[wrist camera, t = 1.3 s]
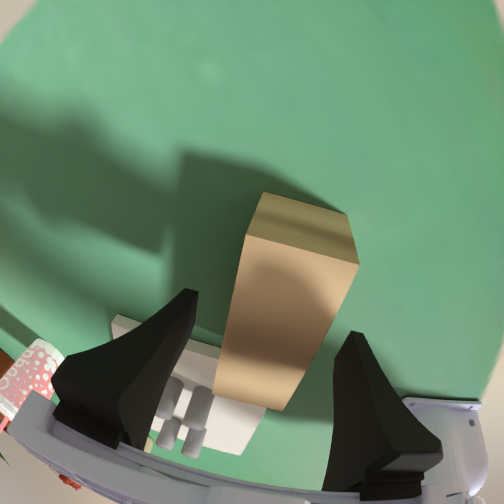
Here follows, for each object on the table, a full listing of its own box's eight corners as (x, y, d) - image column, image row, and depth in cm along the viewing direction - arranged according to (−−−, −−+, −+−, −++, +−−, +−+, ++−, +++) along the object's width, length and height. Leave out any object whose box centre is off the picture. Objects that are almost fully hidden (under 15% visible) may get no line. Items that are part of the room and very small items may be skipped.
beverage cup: (60, 342, 24) (-13, 453, 12) (81, 380, 27) (24, 480, 15) (22, 326, 25) (-48, 419, 13) (43, 363, 28) (-14, 450, 16)
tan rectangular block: (263, 190, 14) (245, 234, 10) (346, 213, 14) (359, 264, 10) (229, 337, 19) (211, 393, 15) (289, 352, 19) (282, 411, 15)
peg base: (284, 364, 19) (277, 414, 16) (242, 447, 28) (234, 479, 24) (117, 313, 20) (89, 353, 17) (135, 414, 28) (122, 443, 25)
